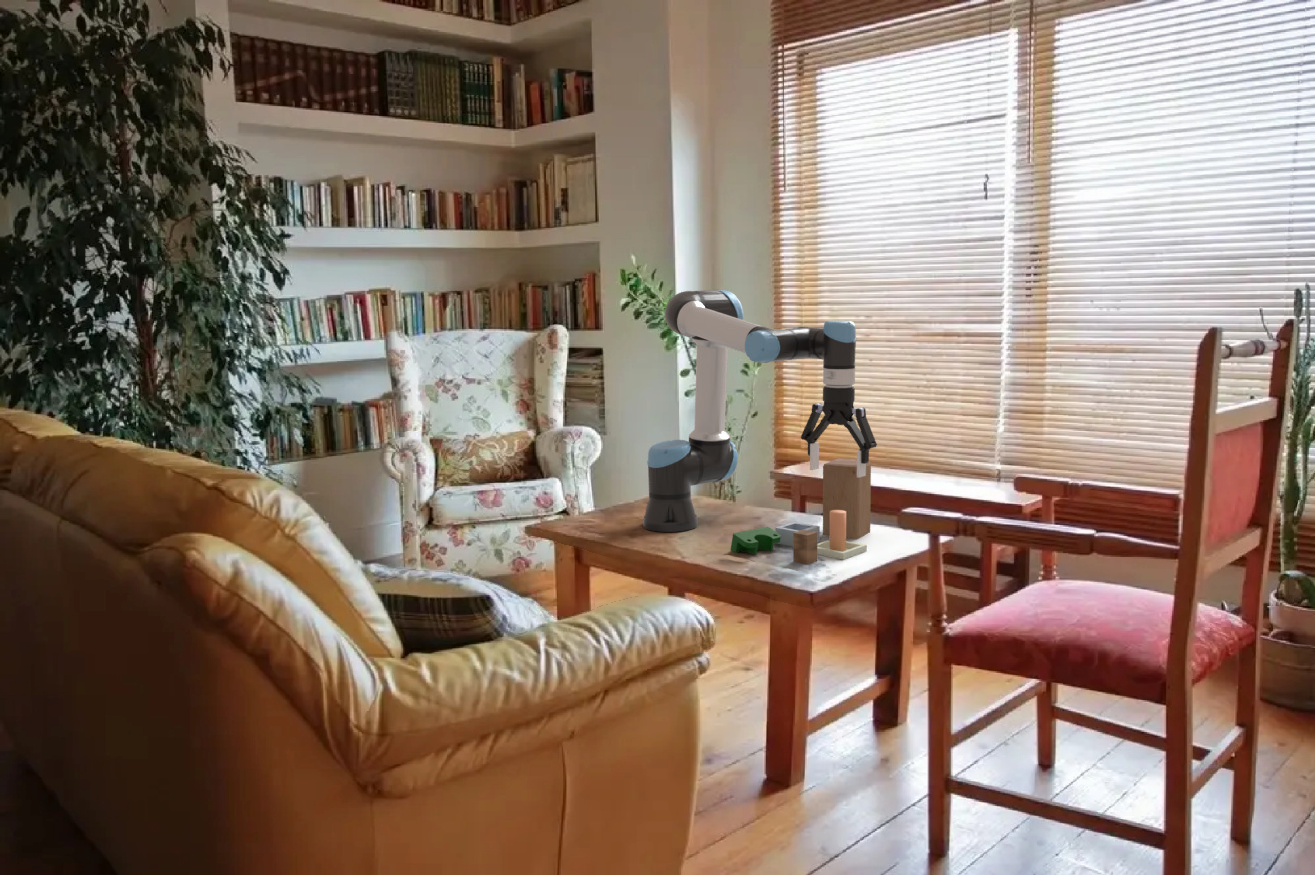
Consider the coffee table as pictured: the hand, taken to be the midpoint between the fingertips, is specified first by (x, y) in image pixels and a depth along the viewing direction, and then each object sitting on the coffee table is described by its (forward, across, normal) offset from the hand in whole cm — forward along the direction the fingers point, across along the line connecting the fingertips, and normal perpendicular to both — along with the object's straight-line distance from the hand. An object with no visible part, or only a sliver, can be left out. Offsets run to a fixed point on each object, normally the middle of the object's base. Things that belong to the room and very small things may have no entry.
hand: (837, 472), depth 250 cm
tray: (+21, +1, 0) cm, 21 cm away
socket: (+21, -12, +1) cm, 24 cm away
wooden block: (+21, -8, +17) cm, 28 cm away
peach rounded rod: (+20, +1, 0) cm, 20 cm away
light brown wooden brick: (+21, 0, -12) cm, 24 cm away
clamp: (+21, -15, -12) cm, 29 cm away
